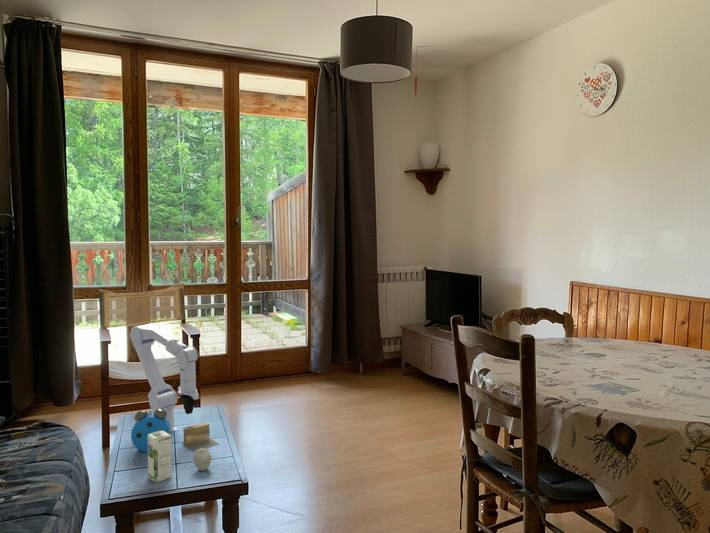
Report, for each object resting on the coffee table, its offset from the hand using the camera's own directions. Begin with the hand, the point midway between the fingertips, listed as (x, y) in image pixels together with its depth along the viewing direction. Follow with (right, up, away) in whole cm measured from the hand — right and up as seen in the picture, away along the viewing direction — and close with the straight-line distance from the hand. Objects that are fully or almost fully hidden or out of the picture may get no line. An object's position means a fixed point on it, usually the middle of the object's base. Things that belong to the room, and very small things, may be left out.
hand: (188, 413), depth 208 cm
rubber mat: (+6, -10, -6) cm, 13 cm away
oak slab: (+4, -10, -4) cm, 11 cm away
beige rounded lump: (+13, -12, -27) cm, 32 cm away
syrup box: (+1, -12, -33) cm, 35 cm away
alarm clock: (-10, -11, -11) cm, 18 cm away
